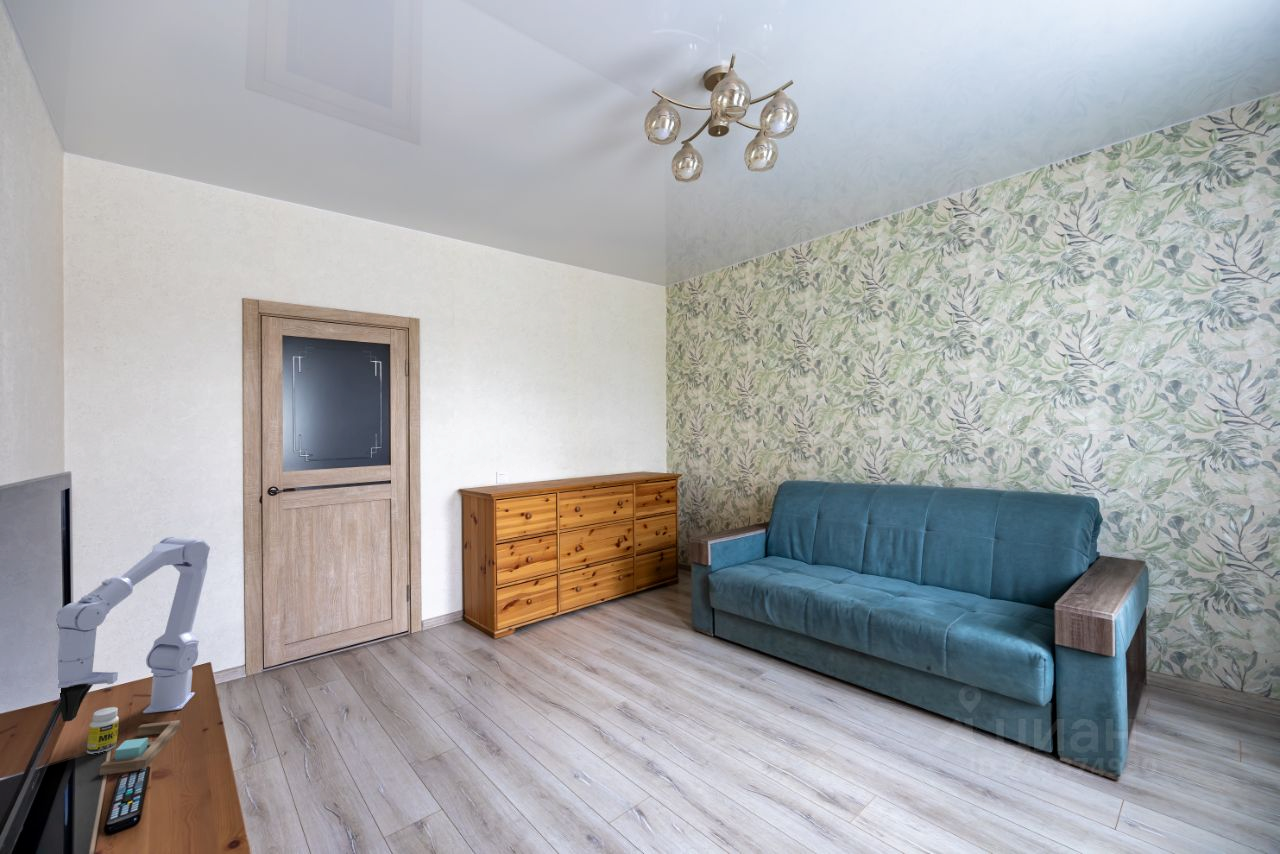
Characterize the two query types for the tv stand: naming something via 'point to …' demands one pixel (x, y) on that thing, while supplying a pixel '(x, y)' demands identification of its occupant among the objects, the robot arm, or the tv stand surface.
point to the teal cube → (131, 749)
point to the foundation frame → (152, 750)
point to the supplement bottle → (103, 730)
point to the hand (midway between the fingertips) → (69, 719)
